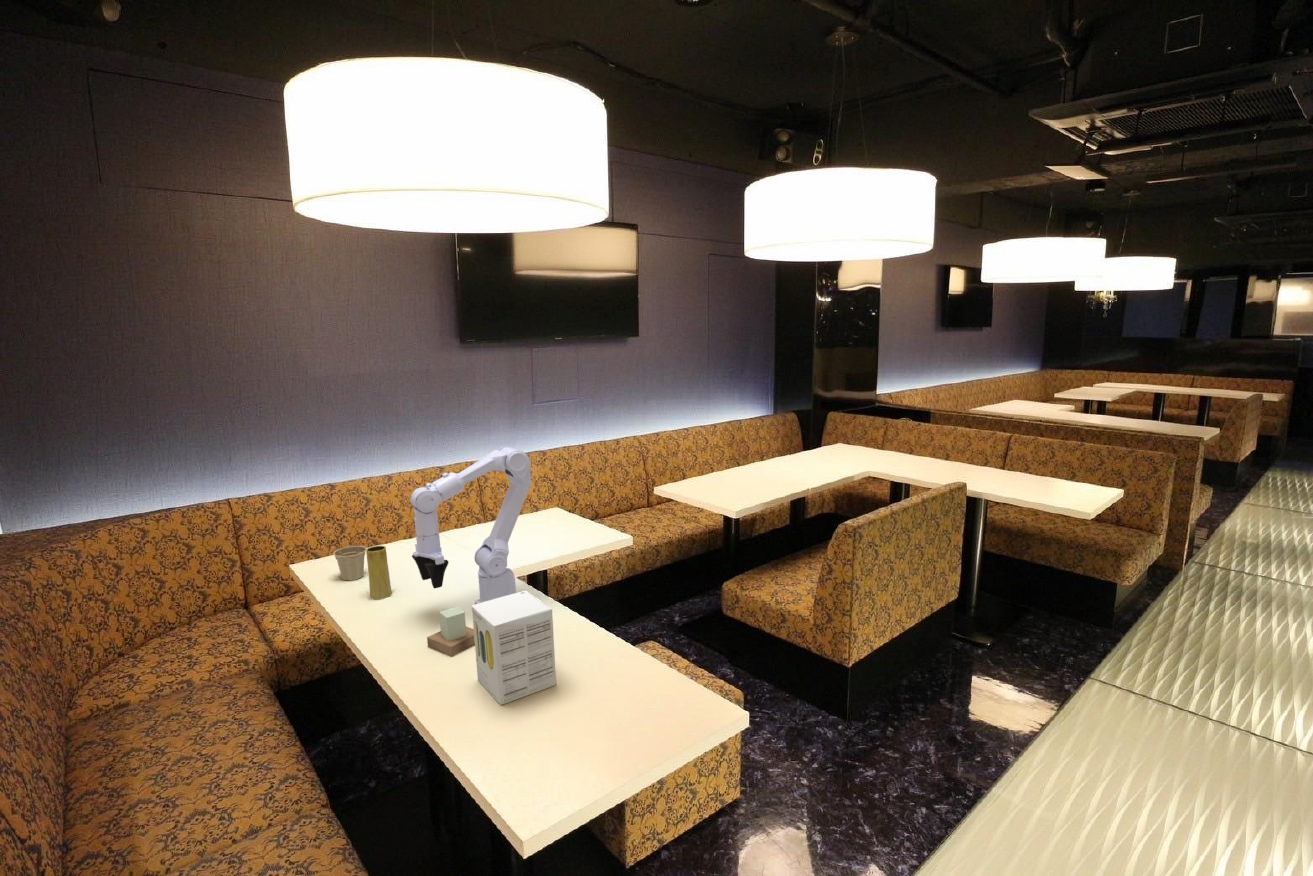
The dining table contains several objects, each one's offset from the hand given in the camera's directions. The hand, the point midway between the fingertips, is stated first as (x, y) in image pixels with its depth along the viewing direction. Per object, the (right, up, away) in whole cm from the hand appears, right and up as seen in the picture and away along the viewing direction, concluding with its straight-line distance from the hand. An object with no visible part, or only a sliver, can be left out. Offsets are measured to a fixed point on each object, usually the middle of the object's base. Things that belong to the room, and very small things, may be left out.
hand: (432, 583), depth 176 cm
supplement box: (+29, -15, -31) cm, 45 cm away
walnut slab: (+10, -13, -13) cm, 21 cm away
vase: (-21, -8, +18) cm, 29 cm away
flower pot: (-36, -6, +33) cm, 49 cm away
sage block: (+10, -10, -14) cm, 20 cm away
